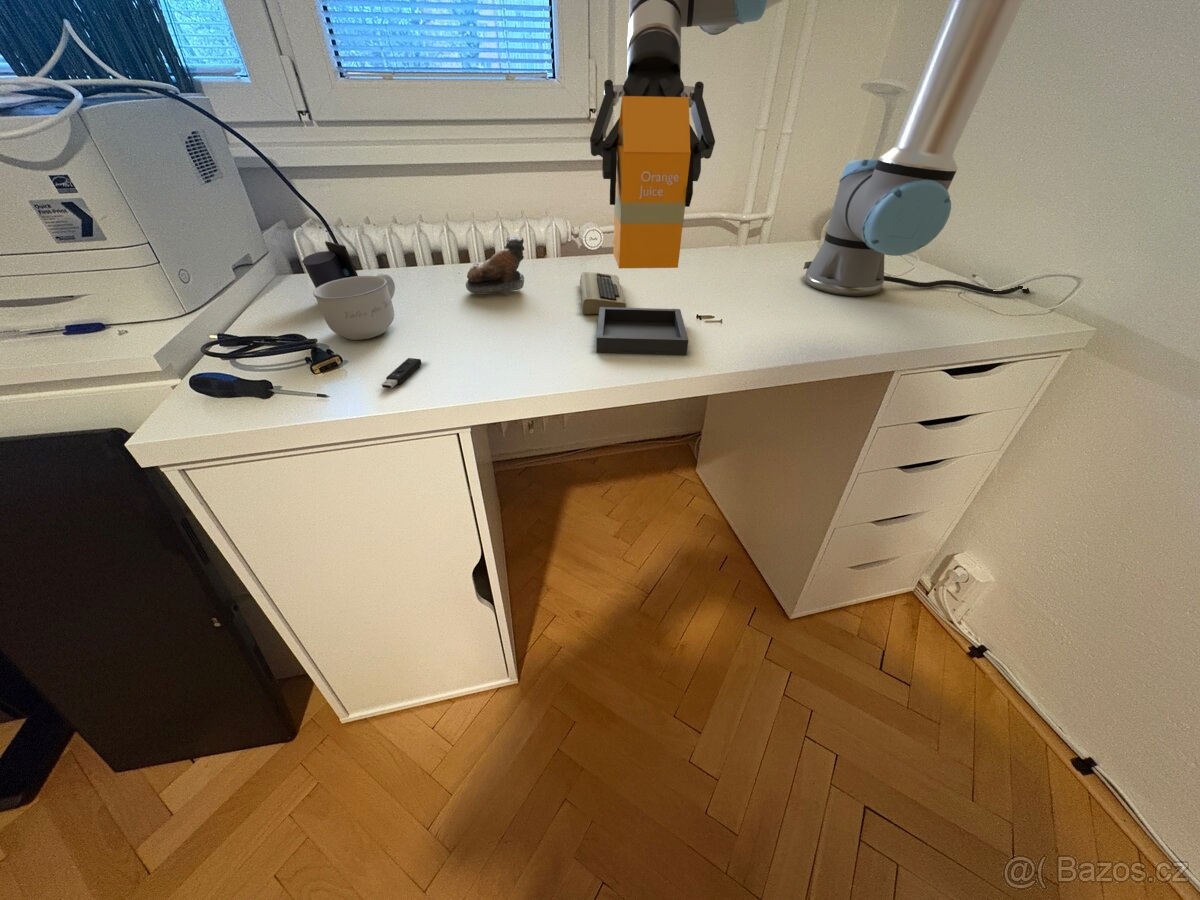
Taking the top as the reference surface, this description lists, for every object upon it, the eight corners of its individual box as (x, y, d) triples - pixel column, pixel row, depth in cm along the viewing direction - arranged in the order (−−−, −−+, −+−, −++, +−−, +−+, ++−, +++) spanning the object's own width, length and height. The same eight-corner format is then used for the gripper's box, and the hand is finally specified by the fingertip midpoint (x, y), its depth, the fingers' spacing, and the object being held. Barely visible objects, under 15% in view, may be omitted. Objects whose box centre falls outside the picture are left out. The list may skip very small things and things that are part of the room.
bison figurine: (467, 300, 93) (458, 244, 86) (466, 288, 98) (458, 235, 92) (529, 295, 95) (525, 241, 89) (525, 284, 100) (521, 232, 94)
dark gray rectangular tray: (678, 322, 85) (680, 308, 83) (686, 355, 74) (688, 340, 73) (599, 320, 85) (599, 306, 84) (596, 352, 75) (596, 337, 73)
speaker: (359, 291, 95) (338, 236, 88) (369, 300, 92) (347, 245, 84) (319, 302, 92) (294, 247, 85) (327, 313, 88) (302, 256, 81)
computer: (626, 314, 87) (627, 296, 85) (582, 315, 87) (581, 297, 85) (618, 286, 100) (619, 270, 98) (579, 286, 100) (579, 270, 98)
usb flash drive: (394, 390, 64) (392, 383, 64) (380, 388, 65) (378, 382, 64) (421, 364, 71) (420, 358, 70) (409, 362, 71) (408, 356, 70)
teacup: (356, 352, 74) (340, 301, 69) (314, 336, 78) (296, 286, 73) (427, 323, 83) (417, 276, 78) (385, 310, 88) (374, 265, 83)
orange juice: (612, 253, 75) (617, 95, 63) (668, 253, 76) (683, 96, 64) (618, 268, 69) (625, 96, 57) (678, 268, 70) (697, 97, 58)
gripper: (726, 79, 71) (726, 218, 68) (577, 76, 72) (570, 214, 69) (740, 28, 64) (740, 182, 61) (573, 25, 64) (566, 178, 61)
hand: (650, 199), depth 65 cm, fingers closed on orange juice, 9 cm apart
